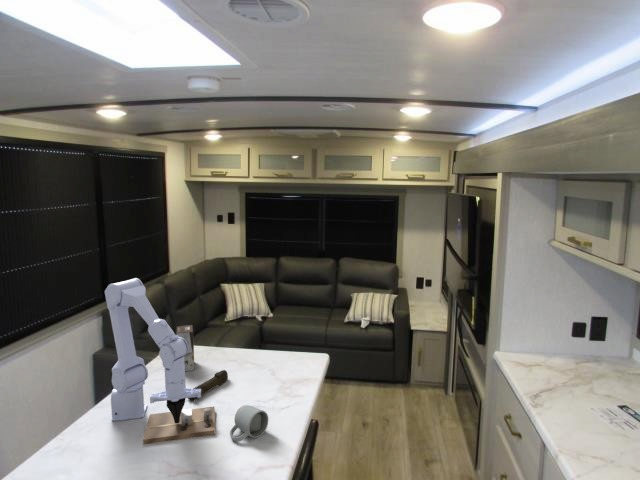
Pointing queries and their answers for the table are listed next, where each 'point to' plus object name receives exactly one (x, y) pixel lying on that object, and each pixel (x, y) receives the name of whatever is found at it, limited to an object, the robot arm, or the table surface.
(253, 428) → the ceramic mug
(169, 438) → the wooden board
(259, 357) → the table surface
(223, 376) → the hand tool
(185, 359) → the coffee box
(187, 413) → the white rectangular block
